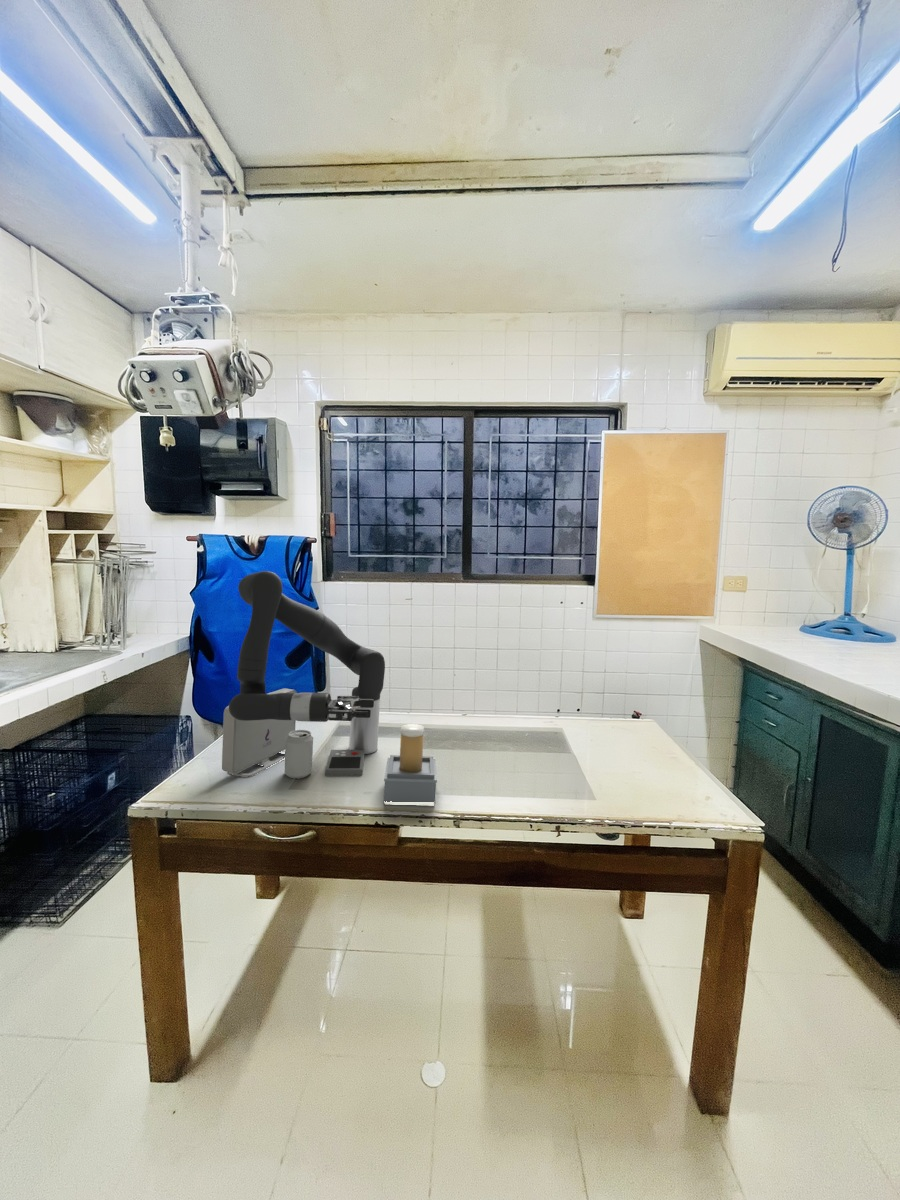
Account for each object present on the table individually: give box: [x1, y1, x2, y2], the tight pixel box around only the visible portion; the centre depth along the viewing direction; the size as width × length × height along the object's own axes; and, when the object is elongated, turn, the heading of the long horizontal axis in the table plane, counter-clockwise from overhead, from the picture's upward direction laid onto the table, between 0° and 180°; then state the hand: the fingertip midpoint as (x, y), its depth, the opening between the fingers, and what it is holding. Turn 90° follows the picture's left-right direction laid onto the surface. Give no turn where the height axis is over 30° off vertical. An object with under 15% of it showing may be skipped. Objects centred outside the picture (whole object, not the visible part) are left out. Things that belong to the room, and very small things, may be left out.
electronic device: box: [324, 749, 365, 776], centre depth 141 cm, size 10×2×15 cm
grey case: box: [383, 754, 438, 802], centre depth 124 cm, size 13×13×8 cm
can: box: [283, 729, 314, 779], centre depth 132 cm, size 8×8×12 cm
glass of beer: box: [399, 723, 425, 773], centre depth 124 cm, size 6×6×11 cm
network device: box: [221, 687, 298, 778], centre depth 137 cm, size 26×9×20 cm, turn 160°
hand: (372, 708), depth 125 cm, fingers open, 8 cm apart
